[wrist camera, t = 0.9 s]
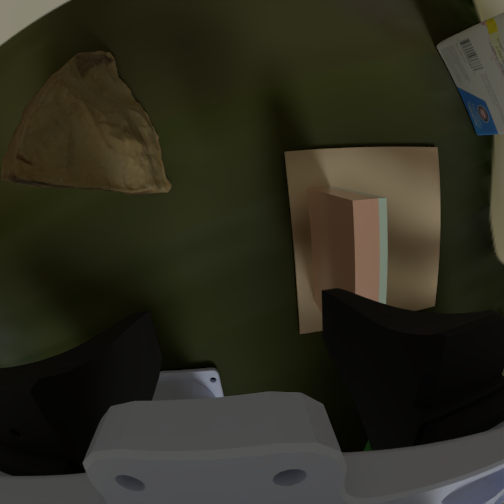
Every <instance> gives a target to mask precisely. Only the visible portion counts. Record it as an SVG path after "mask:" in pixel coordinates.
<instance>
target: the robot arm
mask: <svg viewBox="0 0 504 504" xmlns="http://www.w3.org/2000/svg"><path fill="white" fill-rule="evenodd" d="M321 292H322V327H323V339H324V342H325V345H326V347H327V350H328V353H329V355H330V357H331V359H332V361H333V363H334V365H335V367H336V368H337V370H338V372H339V374H340V376H341V377H342V379H343V381H344V383H345V385H346V386H347V388H348V390H349V392H350V394H351V396H352V398H353V400H354V402H355V404H356V407H357V409H358V412H359V415H360V417H361V420H362V423H363V426H364V428H365V431H366V434H367V437H368V440H369V443H370V447H371V450H372V451H361V452H341V449H340V447H339V444H338V441H337V439H336V436H335V433H334V431H333V428H332V426H331V423H330V420H329V418H328V415H327V412H326V410H325V407H324V405H323V404H322V403H320V402H318V401H316V400H314V399H312V398H310V397H309V396H307V395H305V394H303V393H298V392H270V391H268V392H261V393H253V394H245V395H236V396H226V397H224V394H223V390H222V386H221V381H220V376H219V372H218V370H217V369H216V368H201V369H188V370H173V371H160V369H161V362H162V354H161V350H160V347H159V343H158V340H157V336H156V333H155V329H154V325H153V321H152V318H151V314H150V312H142V313H134V314H132V315H130V316H128V317H126V318H124V319H123V320H121V321H119V322H118V323H116V324H115V325H113V326H112V327H110V328H108V329H107V330H105V331H104V332H102V333H100V334H99V335H97V336H95V337H93V338H92V339H90V340H88V341H87V342H85V343H83V344H81V345H79V346H77V347H75V348H73V349H71V350H68V351H66V352H64V353H61V354H59V355H56V356H53V357H50V358H47V359H44V360H41V361H38V362H34V363H30V364H25V365H21V366H15V367H8V368H0V504H502V503H504V376H503V375H502V372H503V369H504V317H503V316H502V315H500V314H499V313H497V312H496V311H494V310H490V311H482V312H473V313H458V314H442V313H428V312H419V311H412V310H407V309H402V308H398V307H394V306H390V305H387V304H383V303H380V302H377V301H374V300H371V299H368V298H365V297H363V296H360V295H357V294H355V293H352V292H349V291H347V290H344V289H340V288H333V289H327V290H321ZM212 377H213V378H216V379H214V380H212V379H211V378H212Z"/></svg>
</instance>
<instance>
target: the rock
mask: <svg viewBox="0 0 504 504" xmlns="http://www.w3.org/2000/svg"><path fill="white" fill-rule="evenodd" d="M158 139H159V135H158V134H157V132H156V131H155V128H154V127H153V126H152V124H151V121H150V119H149V116H148V114H147V113H146V112H145V111H144V110H143V108H142V106H141V105H140V104H139V102H136V101H135V99H134V97H133V96H132V94H131V90H130V89H129V88H128V86H127V85H126V84H125V83H124V82H123V81H122V80H121V79H120V78H119V77H118V72H117V67H116V61H115V58H114V57H113V56H112V54H111V53H110V52H103V51H95V52H81V53H78V54H76V55H75V56H73V57H72V58H71V59H70V60H69V61H68V62H67V63H66V64H65V65H64V66H63V67H62V68H61V69H60V70H58V71H57V72H55V73H54V74H52V75H51V76H50V77H49V78H48V80H47V81H46V82H45V84H44V85H43V87H42V88H41V89H40V90H39V91H38V92H37V93H36V94H35V96H34V97H33V98H32V99H31V100H30V102H29V103H28V104H27V105H26V107H25V108H24V111H23V115H22V120H21V121H20V123H19V125H18V126H17V128H16V130H15V132H14V134H13V137H12V139H11V142H10V145H9V147H8V150H7V152H6V154H5V157H4V159H3V164H2V180H3V181H8V182H14V183H18V184H21V185H26V186H33V187H41V188H59V189H68V188H81V189H100V190H105V191H117V192H123V193H125V194H136V195H149V194H155V193H160V192H167V193H168V192H169V190H170V189H171V183H170V182H169V180H168V179H167V177H166V175H165V169H164V164H163V161H162V157H161V147H160V144H159V141H158Z"/></svg>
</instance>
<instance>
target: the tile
mask: <svg viewBox="0 0 504 504" xmlns="http://www.w3.org/2000/svg"><path fill="white" fill-rule="evenodd" d="M307 193H308V204H309V216H310V229H311V243H312V258H313V275H314V295H315V303H316V305H317V306H318V308H319V309H320V311H321V313H322V292H321V290H327V289H333V288H340V289H344V290H347V291H349V292H352V293H355V294H357V295H360V296H363V297H365V298H368V299H371V300H374V301H377V302H380V303H383V304H386V294H387V260H388V233H387V199H386V197H381V196H376V195H372V194H367V193H362V192H358V191H353V190H348V189H343V188H337V187H332V186H326V187H315V188H307Z"/></svg>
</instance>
